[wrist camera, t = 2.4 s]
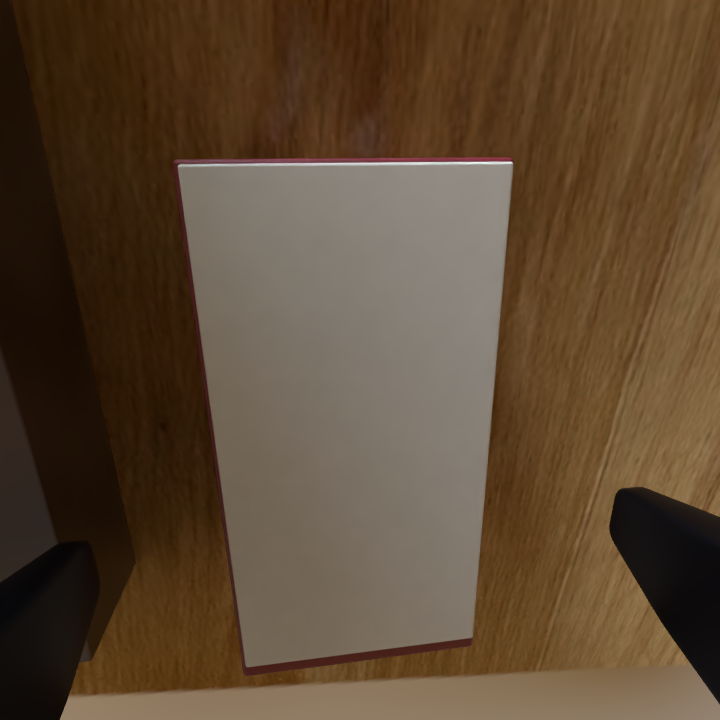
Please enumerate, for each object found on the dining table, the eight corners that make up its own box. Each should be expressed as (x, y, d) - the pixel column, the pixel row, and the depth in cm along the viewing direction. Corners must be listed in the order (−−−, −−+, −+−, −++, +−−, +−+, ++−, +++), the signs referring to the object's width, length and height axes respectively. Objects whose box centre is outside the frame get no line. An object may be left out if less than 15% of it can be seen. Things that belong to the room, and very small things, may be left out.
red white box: (428, 532, 16) (477, 657, 12) (258, 550, 16) (241, 689, 11) (442, 172, 12) (523, 155, 8) (216, 174, 12) (165, 156, 7)
